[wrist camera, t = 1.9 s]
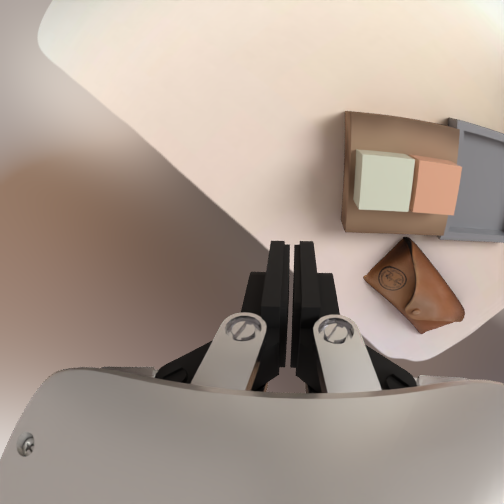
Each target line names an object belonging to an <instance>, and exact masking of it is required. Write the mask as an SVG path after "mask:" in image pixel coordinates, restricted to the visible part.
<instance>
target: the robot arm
mask: <svg viewBox="0 0 504 504" xmlns="http://www.w3.org/2000/svg"><path fill="white" fill-rule="evenodd" d="M289 262H290V245H285V242H284V241H271V244H270V251H269V258H268V264H267V271H266V272H251V273H250V276H249V280H248V285H247V289H246V293H245V297H244V302H243V306H242V310H241V313H237V314H234V315H231V316H229V317H228V318H227V319H225V320H224V322H223V323H222V324H221V326H220V328H219V330H218V332H217V334H216V336H215V338H214V340H213V341H211V342H209V343H207V344H205V345H203V346H201V347H199V348H197V349H195V350H194V351H192V352H190V353H188V354H186V355H184V356H182V357H180V358H178V359H176V360H174V361H172V362H170V363H168V364H166V365H164V366H163V367H161V368H160V369H159V370H155V369H154V367H102V368H93V367H79V368H69V369H63V370H60V371H57V372H55V373H53V374H52V375H51V376H49V377H48V378H47V379H46V380H45V381H44V382H43V383H42V385H41V386H40V387H39V388H38V390H37V391H36V393H35V394H34V395H33V397H32V398H31V400H30V401H29V403H28V405H27V406H26V408H25V410H24V412H23V413H22V415H21V417H20V419H19V421H18V422H17V424H16V426H15V428H14V430H13V433H12V434H11V437H10V439H9V441H8V443H7V445H6V448H5V450H4V452H3V455H2V457H1V459H0V504H504V384H503V383H500V382H495V381H489V380H475V379H474V380H469V379H466V378H455V377H438V376H425V375H419V376H418V378H413V376H412V375H411V374H410V373H408V372H407V371H406V370H404V369H402V368H401V367H399V366H398V365H396V364H394V363H393V362H391V361H390V360H388V359H387V358H385V357H384V356H382V355H380V354H379V353H377V352H376V351H374V350H373V349H371V348H370V347H368V346H366V345H365V344H364V341H363V339H362V336H361V334H360V331H359V329H358V327H357V325H356V324H355V322H353V321H352V320H351V319H350V318H347V317H345V316H342V315H340V313H339V307H338V301H337V295H336V290H335V284H334V279H333V274H332V273H317V268H316V259H315V251H314V243H313V241H300V245H295V246H294V283H293V315H292V343H291V365H290V366H291V367H293V368H296V376H298V377H299V378H300V379H301V380H302V381H304V382H305V391H306V393H273V392H266V391H267V388H268V382H269V381H270V380H271V379H273V378H274V377H276V376H277V375H279V367H285V360H286V344H287V324H288V304H289Z"/></svg>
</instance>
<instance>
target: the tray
mask: <svg viewBox="0 0 504 504" xmlns="http://www.w3.org/2000/svg"><path fill="white" fill-rule="evenodd" d="M448 126H449V127H453V128H456V129H460V135H459V148H458V158H457V165H459V166H461V167H462V171H461V178H460V185H459V191H458V196H457V202H456V207H455V211H454V215H448V219H447V223H446V227H445V232H444V236H439V235H437V237H438V238H439V239H440V240H463V241H484V242H503V243H504V134H503V133H500V132H497V131H494V130H491V129H488V128H485V127H482V126H478V125H475V124H472V123H468V122H465V121H461V120H457V119H452V118H449V119H448Z"/></svg>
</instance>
